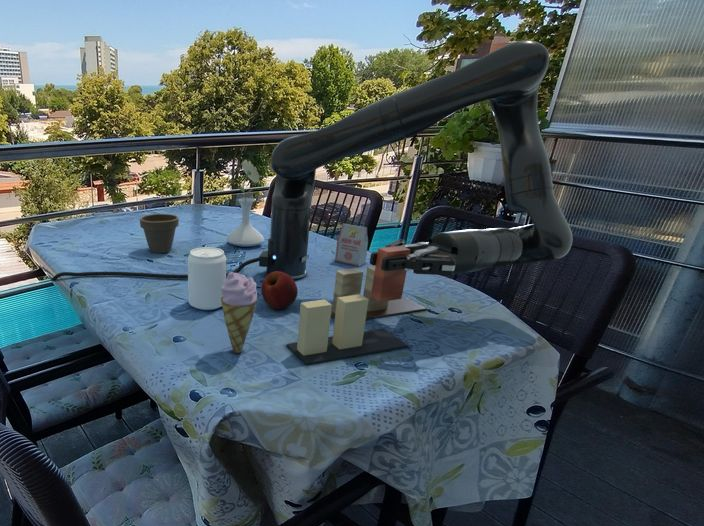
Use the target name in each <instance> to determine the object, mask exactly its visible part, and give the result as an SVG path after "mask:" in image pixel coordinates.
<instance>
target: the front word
mask: <svg viewBox="0 0 704 526" xmlns="http://www.w3.org/2000/svg"><path fill="white" fill-rule="evenodd" d="M368 300H369V299H367V298H366V297H364V296H363V294H361V293H360V294H358V295H351V296H344V297H337V305H336V314H335V318H334V324H333V331H332V336H329V333H330V328H331V327H330V326H331V325H330V324H331V318H332V316H331V309H332V306H333V303H332V304H331V303H330V301H327V300H326V299H324V298H323V299H317V300H310V301H302V302H300V306H299V307H300V308H299V319H298V331H297V342H291V343H286V347H287V348H288V349H289V350H290V351H291V352H292V353H293V354H294V355H295V356H296V357H297V358H298V359H299V360H300V361H302V363H303V364H304V365H306V366H310V365H314V364H315V365H316V364H320V363H325V362H331V361H337V360H342V359H349V358H354V357H361V356H365V355H371V354H376V353H382V352H389V351H395V350H398V349H399V350H400V349H407V348H409V344H407V343H406V342H404V341H402V340H401V339H400V338H398V337H396V336H395V335H393V334H392V333H390V332H389V331H387V330H386V329H384V328H376V329H369V330H365V327H366V321H367V319H366V314H367V307H368Z"/></svg>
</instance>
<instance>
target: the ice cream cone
mask: <svg viewBox="0 0 704 526" xmlns="http://www.w3.org/2000/svg"><path fill="white" fill-rule="evenodd" d="M228 273H229V274H228V276H226V281H225V283H224V285H223V286H222V287H221V291H222V295H223V296H222V297H221V302H222V306H221V307H222V314H223V319H224V323H225V327H226V330H227V334H228V337H229V341H230V345H231V348H232V352H233V353H235V354H240V353H241V352H242V350H243V348H244V345H245V342H246V339H247V336H248V333H249V330H250V327H251V324H252V321H253V317H254V313H255V307H256V304H257V300H258V293H257V282H255V280H254V278H253V277H247V276H246V275H244V274H240V273H233V271H230V272H228Z"/></svg>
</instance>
